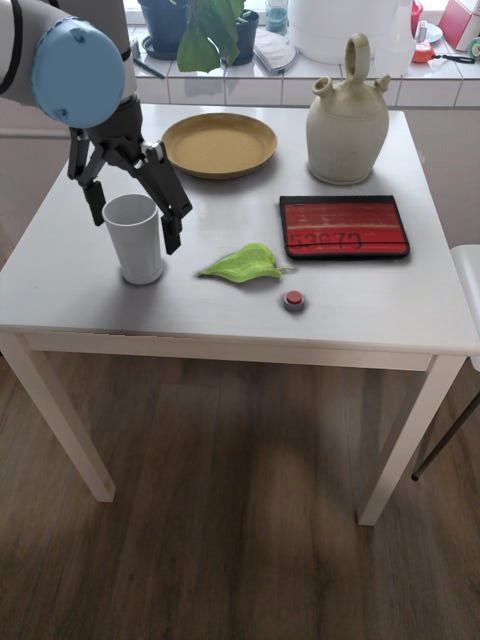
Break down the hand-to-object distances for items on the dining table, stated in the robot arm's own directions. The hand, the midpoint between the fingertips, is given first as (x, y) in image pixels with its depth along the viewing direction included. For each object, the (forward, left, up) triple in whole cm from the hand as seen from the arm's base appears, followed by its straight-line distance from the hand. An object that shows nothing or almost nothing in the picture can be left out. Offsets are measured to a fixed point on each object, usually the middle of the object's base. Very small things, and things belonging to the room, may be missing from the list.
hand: (137, 235), depth 74 cm
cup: (0, 0, -7) cm, 7 cm away
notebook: (+35, -2, -7) cm, 36 cm away
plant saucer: (+23, +30, -7) cm, 38 cm away
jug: (+44, +16, -7) cm, 47 cm away
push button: (+20, -15, -7) cm, 26 cm away
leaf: (+16, -5, -7) cm, 18 cm away
